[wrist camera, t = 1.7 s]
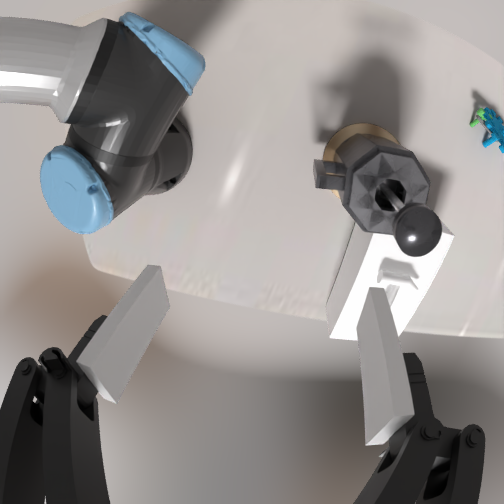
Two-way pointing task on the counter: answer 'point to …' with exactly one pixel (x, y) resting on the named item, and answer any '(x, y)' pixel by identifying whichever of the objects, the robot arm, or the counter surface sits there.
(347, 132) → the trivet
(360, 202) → the carafe
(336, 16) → the counter surface
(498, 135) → the gear
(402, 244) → the plunger
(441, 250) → the tissue box
